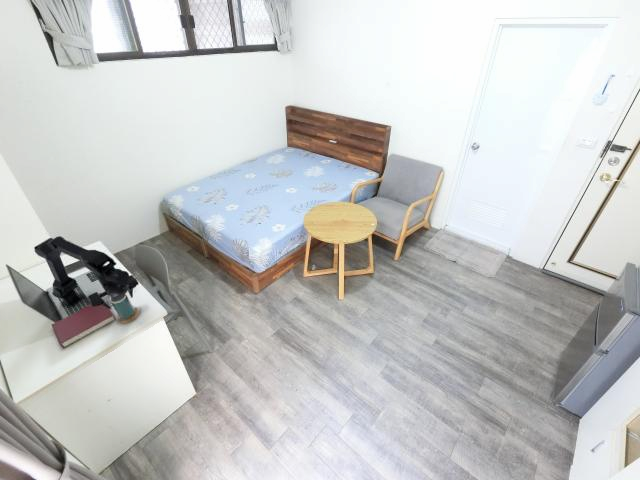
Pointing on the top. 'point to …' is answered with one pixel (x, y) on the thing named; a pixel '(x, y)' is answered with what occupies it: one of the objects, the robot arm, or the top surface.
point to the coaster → (129, 319)
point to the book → (82, 324)
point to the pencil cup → (123, 308)
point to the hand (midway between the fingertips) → (121, 303)
